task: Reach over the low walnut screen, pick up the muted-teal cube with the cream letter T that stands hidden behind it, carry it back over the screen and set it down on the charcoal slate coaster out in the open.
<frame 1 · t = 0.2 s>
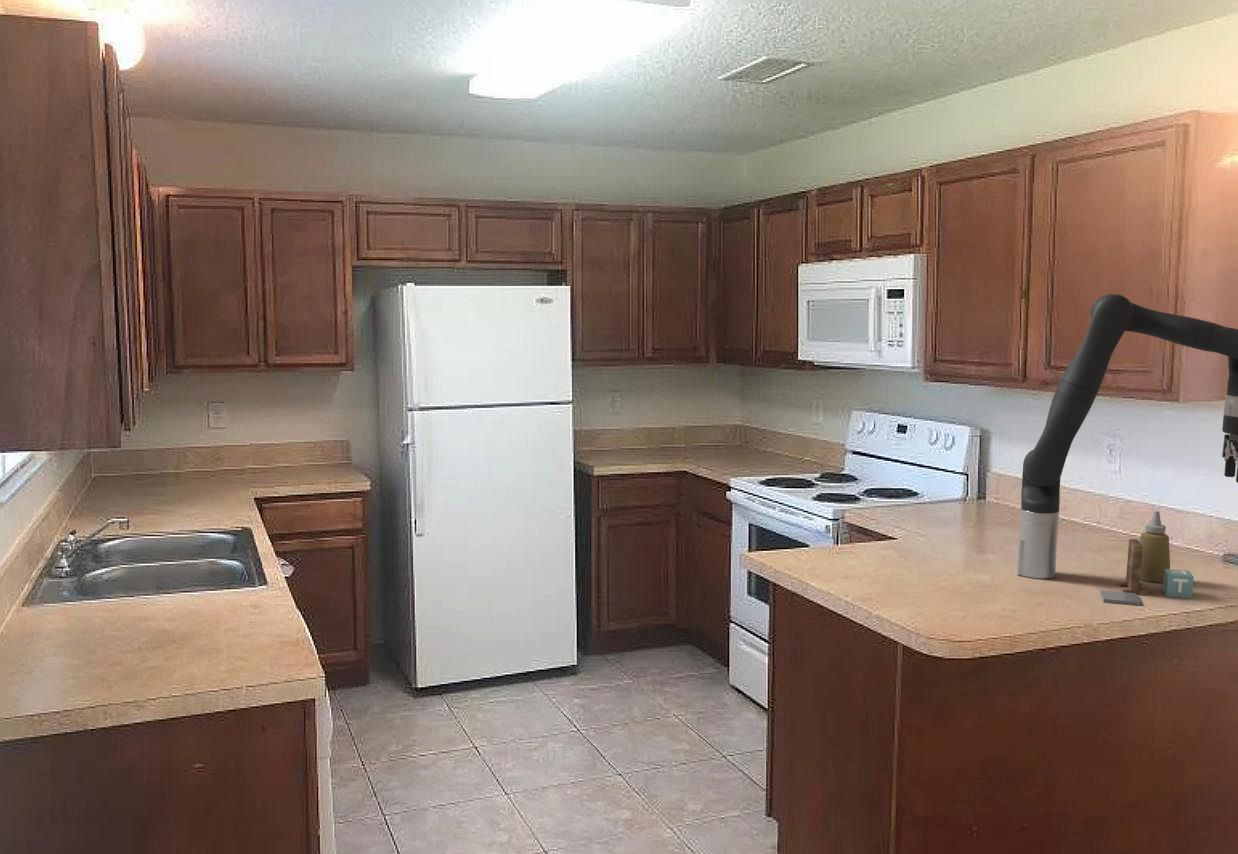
hand: (1235, 479, 254), 28 cm above the worktop, fingers open, 8 cm apart
squeeze bottle: (1151, 580, 268), on the worktop
screen: (1132, 589, 258), on the worktop
cube: (1177, 594, 255), on the worktop
coaster: (1119, 599, 250), on the worktop
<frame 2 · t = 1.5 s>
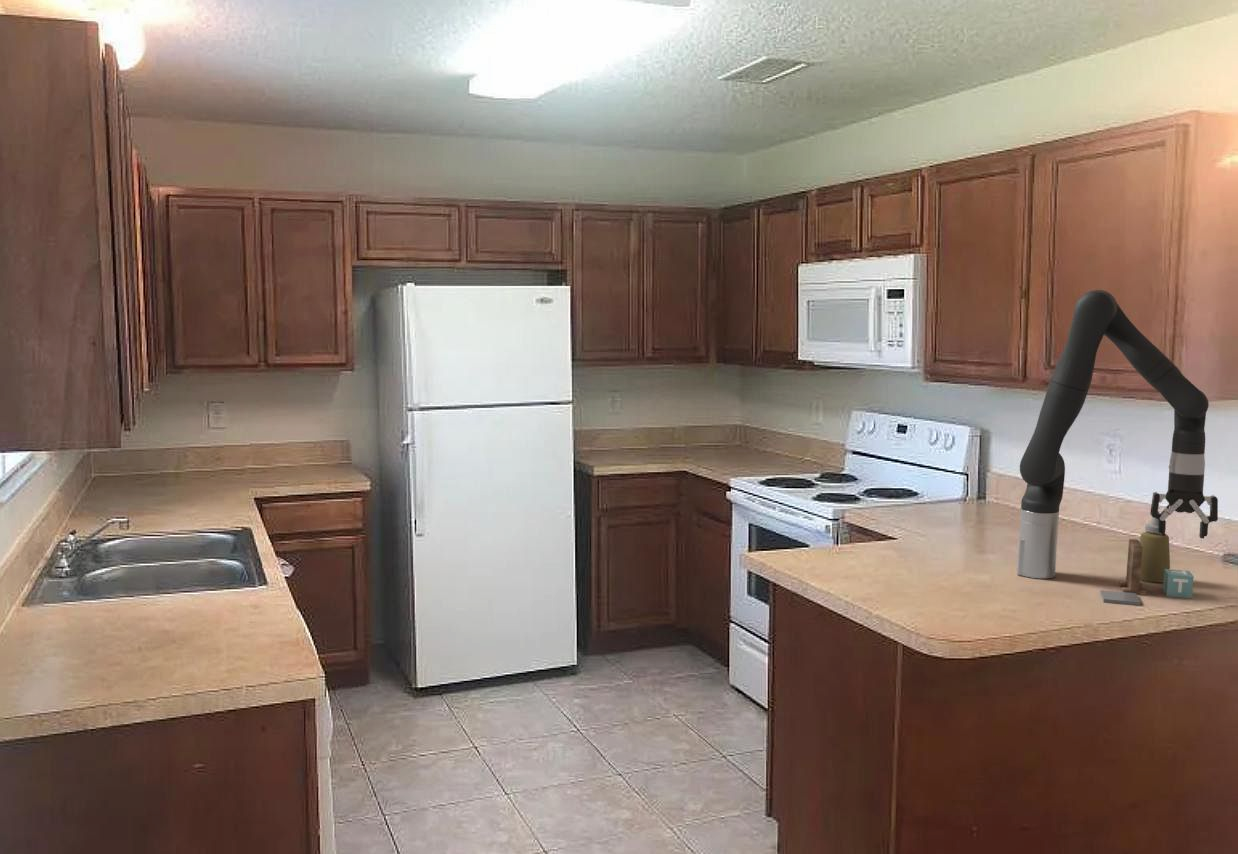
hand: (1182, 536, 253), 14 cm above the worktop, fingers open, 8 cm apart
nothing on the worktop moved.
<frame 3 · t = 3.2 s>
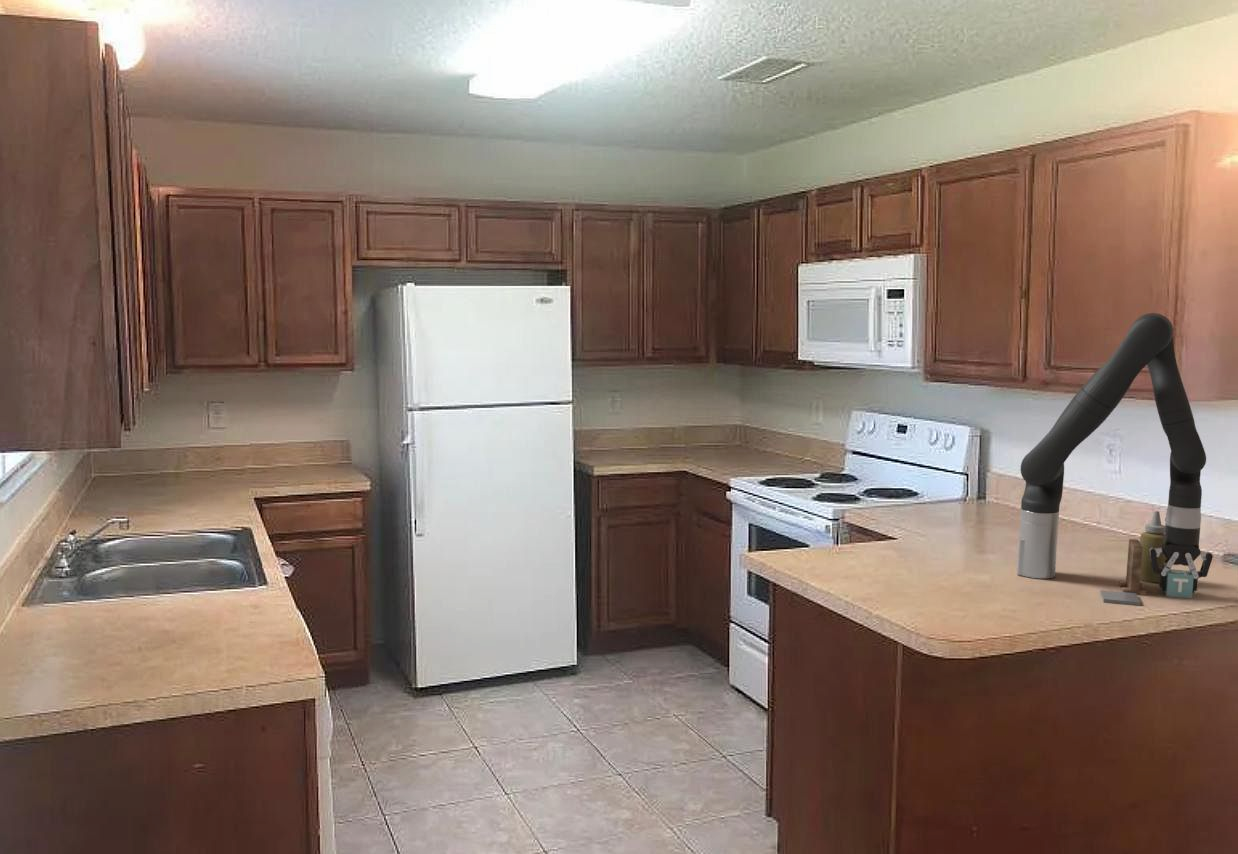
hand: (1177, 591, 255), 1 cm above the worktop, fingers closed on cube, 5 cm apart
cube: (1177, 594, 255), on the worktop, touching gripper
everything else where it was.
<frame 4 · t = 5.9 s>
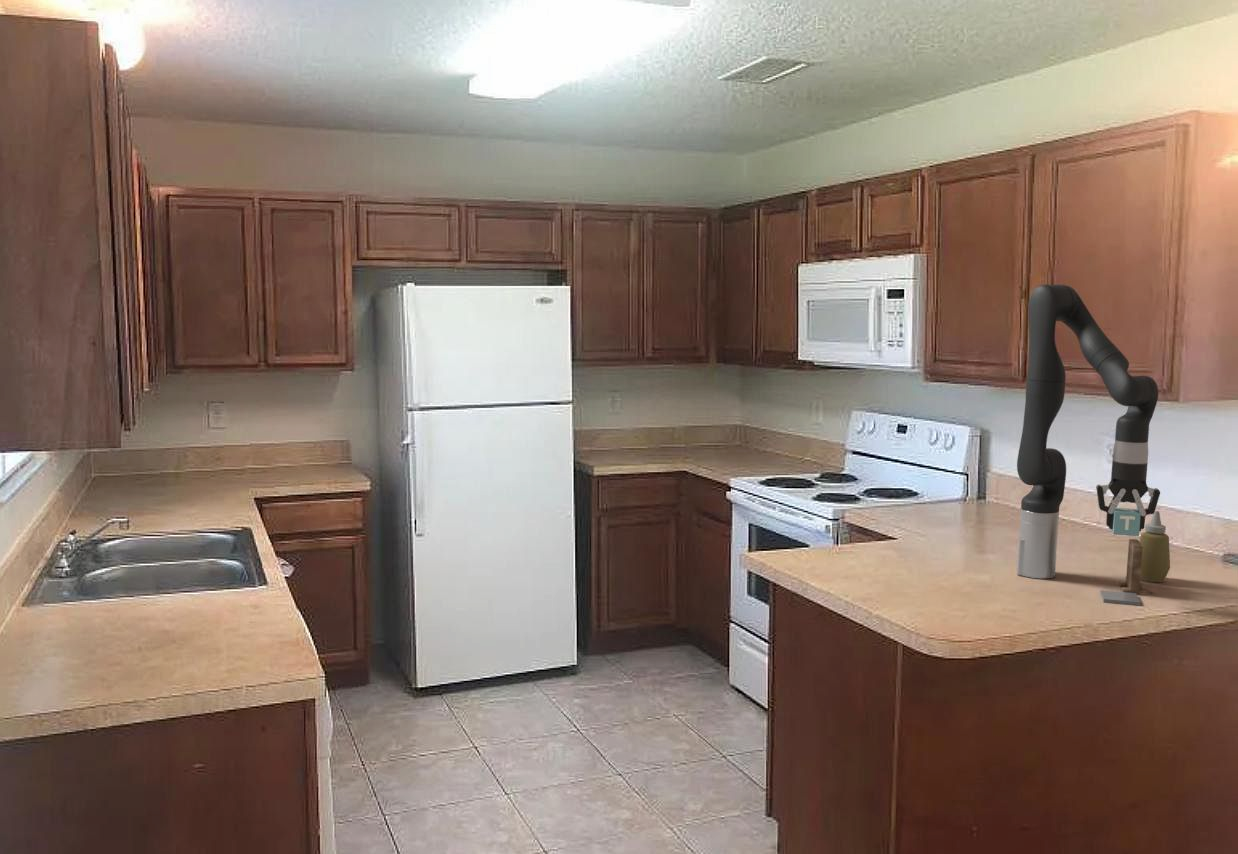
hand: (1124, 529, 248), 17 cm above the worktop, fingers closed on cube, 5 cm apart
cube: (1124, 532, 248), point 16 cm above the worktop, touching gripper
everything else where it was.
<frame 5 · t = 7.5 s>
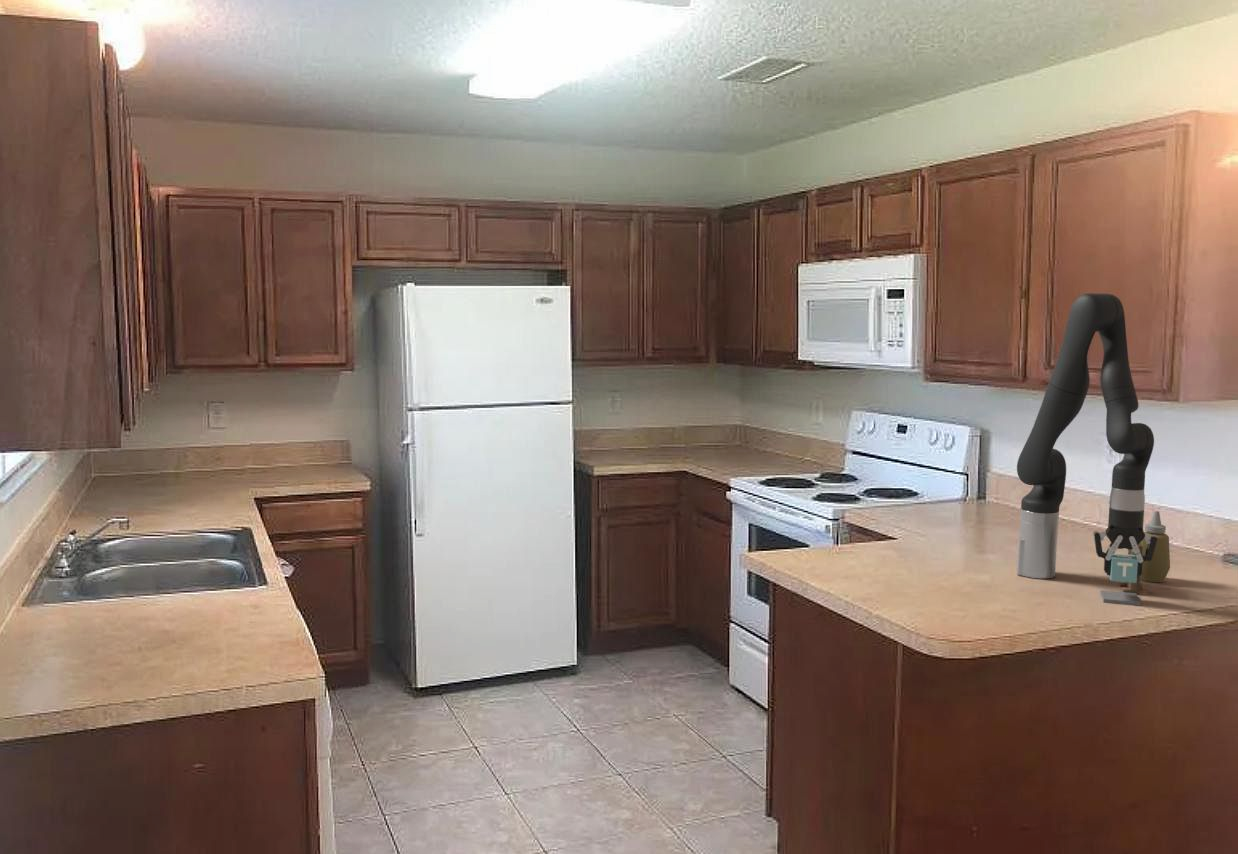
hand: (1122, 575, 249), 6 cm above the worktop, fingers closed on cube, 5 cm apart
cube: (1122, 579, 249), point 5 cm above the worktop, touching gripper
everything else where it was.
when the fingers open (2 cm above the worktop, at t = 8.6 s): cube stays where it is, resting on coaster.
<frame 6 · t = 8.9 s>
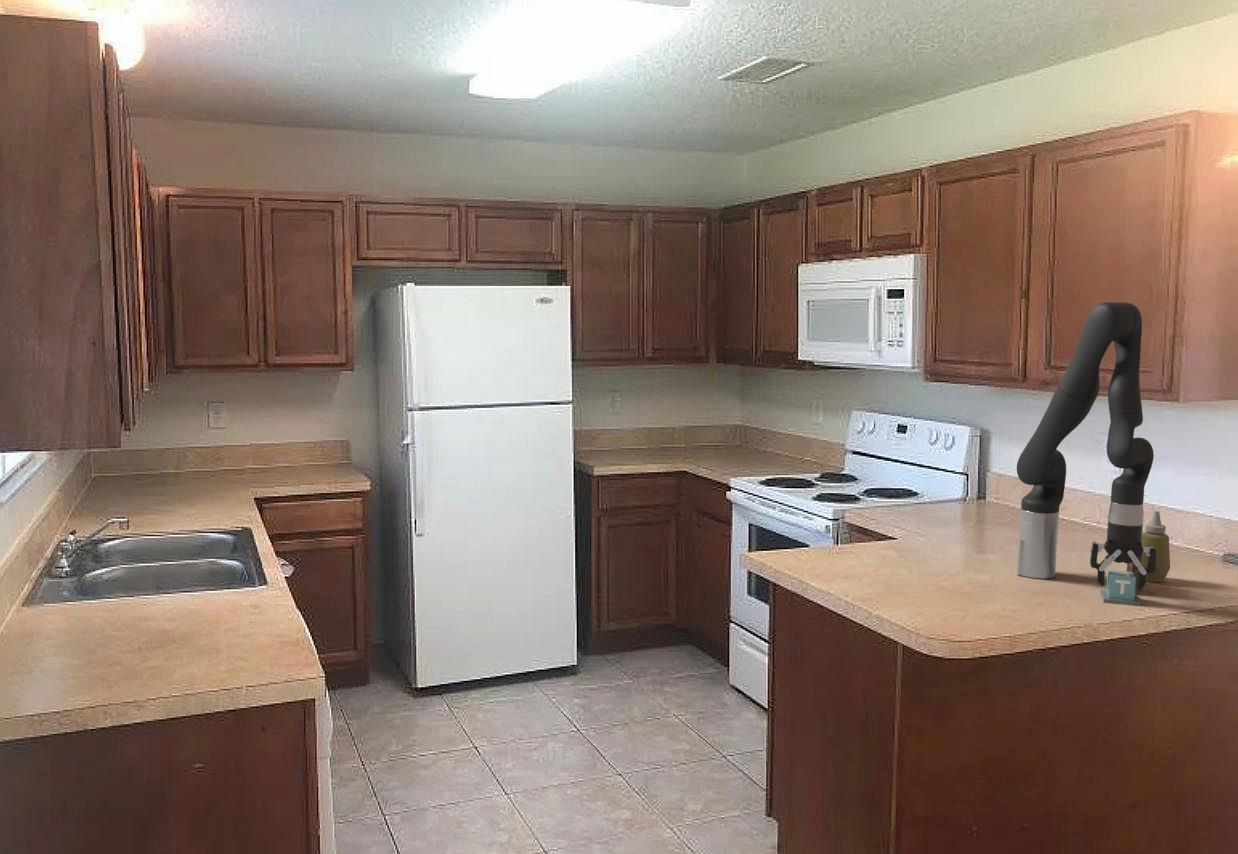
hand: (1120, 587, 250), 3 cm above the worktop, fingers open, 8 cm apart
cube: (1119, 596, 250), point 1 cm above the worktop, touching coaster
everything else where it was.
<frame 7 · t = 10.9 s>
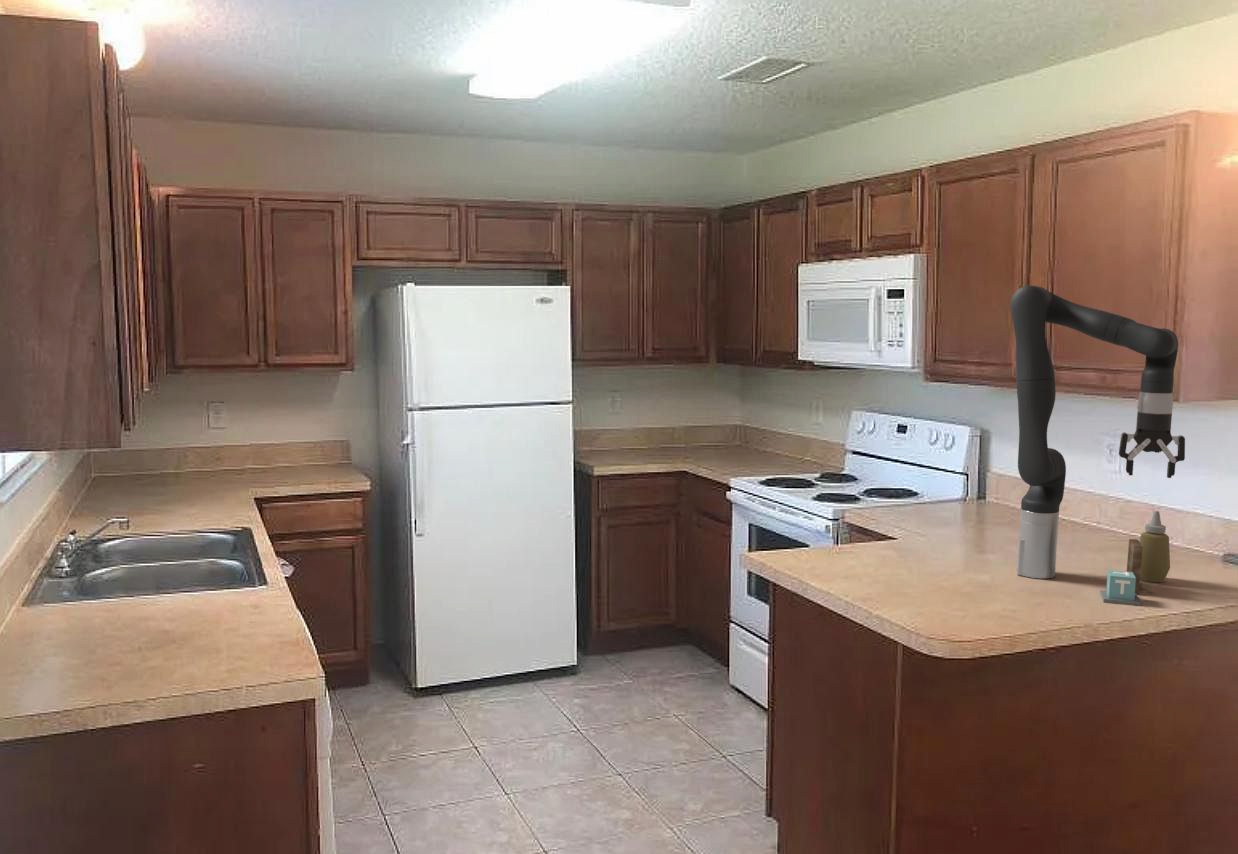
hand: (1149, 476, 255), 29 cm above the worktop, fingers open, 8 cm apart
nothing on the worktop moved.
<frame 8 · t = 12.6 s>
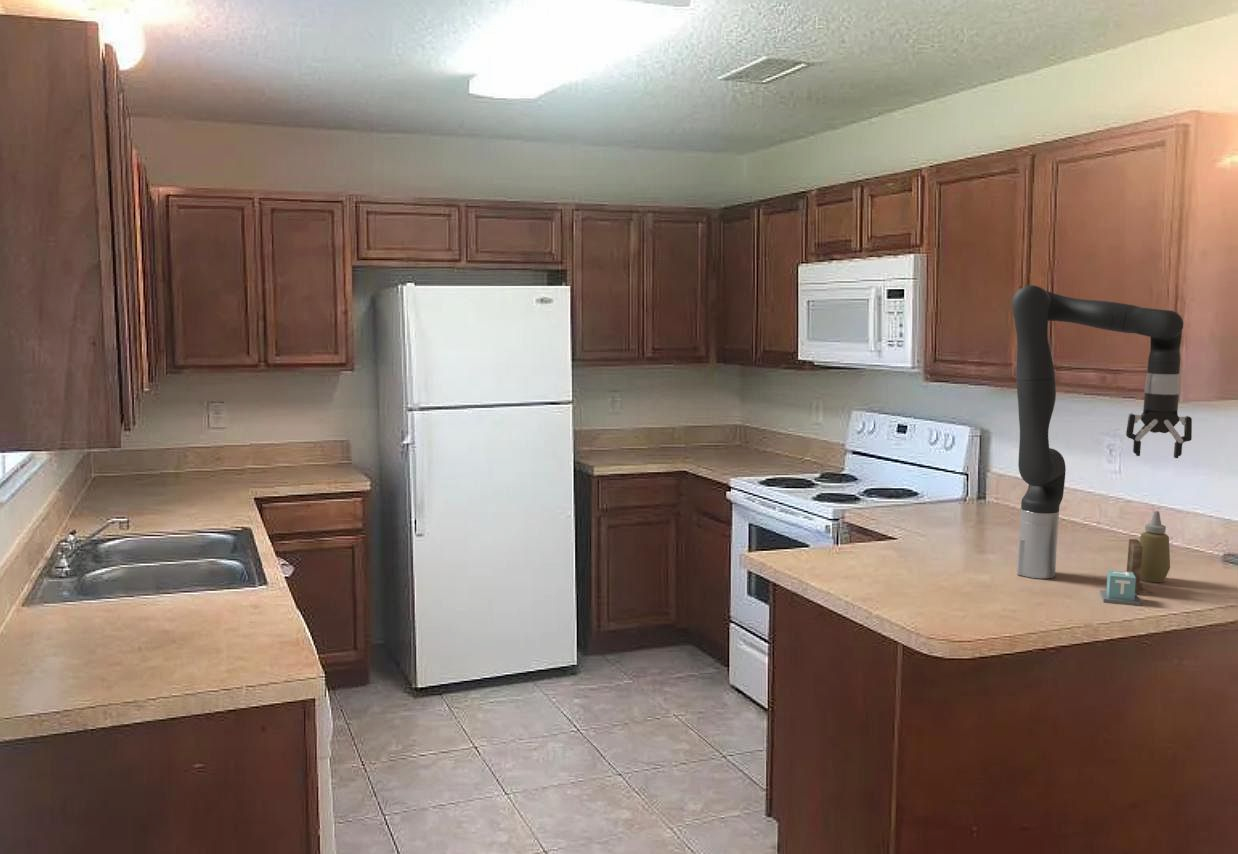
hand: (1156, 456, 257), 33 cm above the worktop, fingers open, 8 cm apart
nothing on the worktop moved.
at the end: cube inside the target area on the coaster (0.1 cm from its centre), point 0.8 cm above the coaster's base; cube tilted 0°; the gripper is holding nothing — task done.
